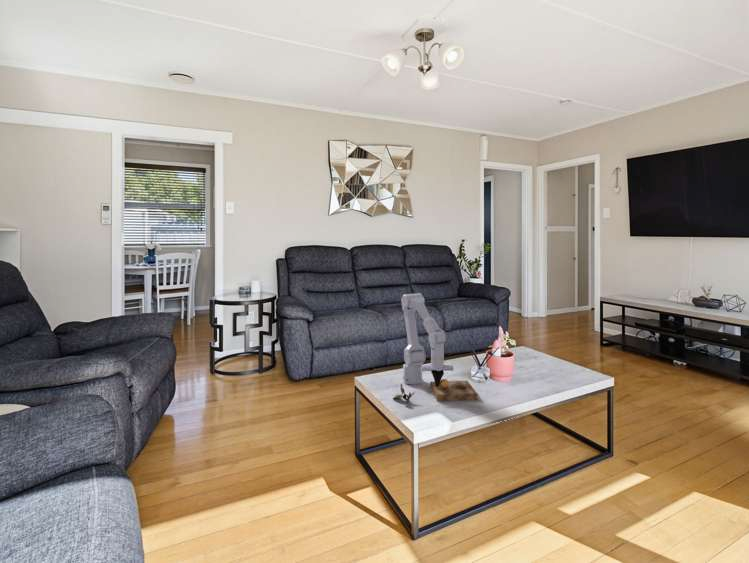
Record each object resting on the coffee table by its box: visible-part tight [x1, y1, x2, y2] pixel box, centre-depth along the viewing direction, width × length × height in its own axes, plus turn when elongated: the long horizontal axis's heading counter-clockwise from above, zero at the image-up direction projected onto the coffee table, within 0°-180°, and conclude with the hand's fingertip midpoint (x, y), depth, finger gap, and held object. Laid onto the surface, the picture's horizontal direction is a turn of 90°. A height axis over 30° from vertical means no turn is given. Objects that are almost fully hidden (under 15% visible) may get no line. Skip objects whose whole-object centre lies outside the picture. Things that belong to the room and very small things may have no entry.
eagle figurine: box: [392, 383, 415, 404], centre depth 178 cm, size 8×7×9 cm
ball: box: [440, 378, 449, 388], centre depth 184 cm, size 4×4×4 cm
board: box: [429, 380, 478, 402], centre depth 185 cm, size 18×16×3 cm
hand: (437, 385), depth 184 cm, fingers closed
